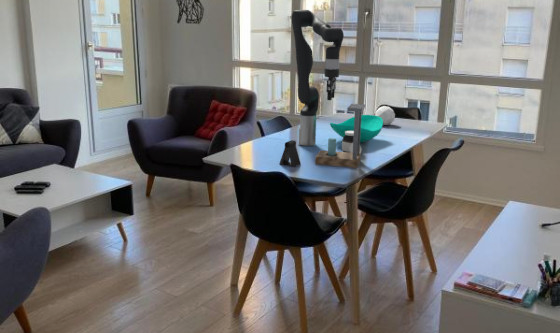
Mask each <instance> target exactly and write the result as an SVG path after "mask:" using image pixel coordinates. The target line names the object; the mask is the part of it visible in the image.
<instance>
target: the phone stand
mask: <svg viewBox="0 0 560 333" xmlns="http://www.w3.org/2000/svg"><path fill="white" fill-rule="evenodd" d="M298 153H299V152H298V148H297V141H296V140H293V139H292V140H288V141H286V142H284V149H283V152H282V154H281V158H280V161H279V165H280V166H286V167H292V168H296V167H299V166H300V165H301V163H302V162H301V159H300V156H299V154H298Z"/></svg>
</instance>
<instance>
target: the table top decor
mask: <svg viewBox="0 0 560 333" xmlns="http://www.w3.org/2000/svg"><path fill="white" fill-rule="evenodd" d="M354 118H355V116H353V117H350V118H348V119H346V120H345V121H343V122H340V123H333V122H329V125H330V127H331V129H332V130H333V131H334V132H335V133H336V134H337V135H338V136H340V137H341V138H343V137H344V136H345V132H346V131H354ZM383 126H384V125H383V120H382V118H381V117H379V116H375V114H362V116H361V135H360V143H364V142H367V141H370V140H372V139H374V138H375V137H376V136H378V135H379V134H380V133H381V131H382V128H383Z"/></svg>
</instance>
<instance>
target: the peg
mask: <svg viewBox="0 0 560 333" xmlns="http://www.w3.org/2000/svg"><path fill="white" fill-rule="evenodd" d="M327 142H328V143H327V151H328V156H336V152H337V138H333V137H332V138H328V141H327Z"/></svg>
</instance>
